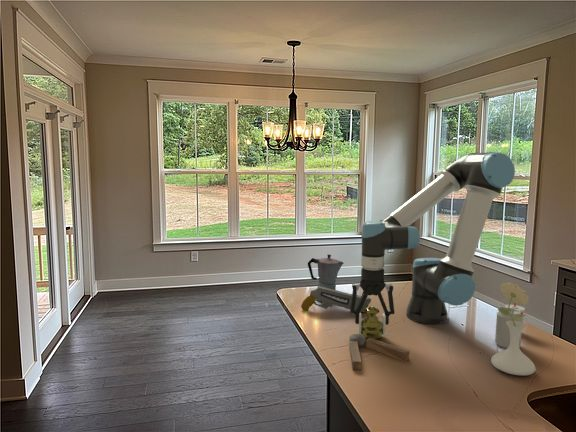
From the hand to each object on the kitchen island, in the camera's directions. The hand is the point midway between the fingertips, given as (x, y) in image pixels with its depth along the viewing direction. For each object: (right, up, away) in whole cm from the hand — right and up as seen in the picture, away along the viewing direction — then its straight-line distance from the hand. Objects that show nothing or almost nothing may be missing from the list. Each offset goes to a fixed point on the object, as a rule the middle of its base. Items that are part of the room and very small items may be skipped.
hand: (371, 332), depth 143 cm
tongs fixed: (-7, -3, -14) cm, 15 cm away
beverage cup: (+51, -1, +5) cm, 51 cm away
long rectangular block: (+2, -3, -12) cm, 13 cm away
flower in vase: (+36, -4, -22) cm, 42 cm away
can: (+43, -3, -6) cm, 44 cm away
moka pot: (-13, +3, +39) cm, 41 cm away
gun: (-9, +1, +25) cm, 27 cm away
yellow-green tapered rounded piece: (0, -1, 0) cm, 1 cm away
